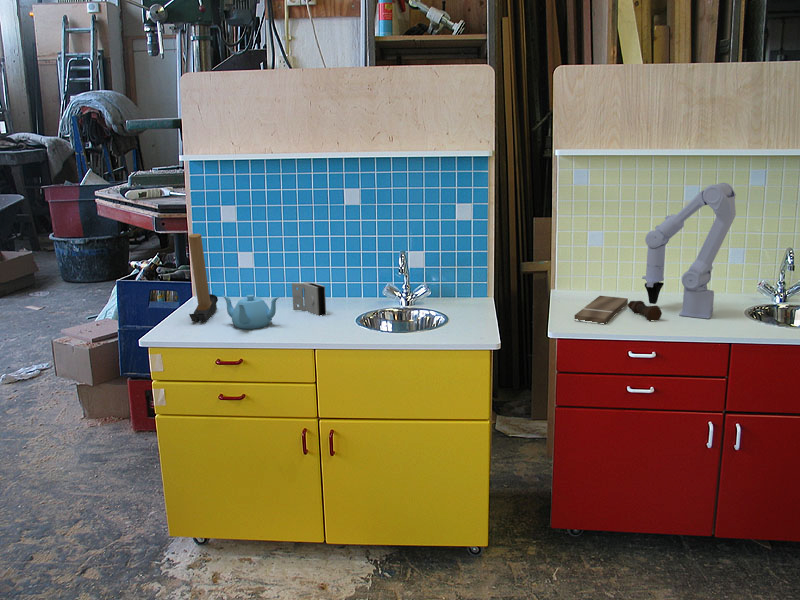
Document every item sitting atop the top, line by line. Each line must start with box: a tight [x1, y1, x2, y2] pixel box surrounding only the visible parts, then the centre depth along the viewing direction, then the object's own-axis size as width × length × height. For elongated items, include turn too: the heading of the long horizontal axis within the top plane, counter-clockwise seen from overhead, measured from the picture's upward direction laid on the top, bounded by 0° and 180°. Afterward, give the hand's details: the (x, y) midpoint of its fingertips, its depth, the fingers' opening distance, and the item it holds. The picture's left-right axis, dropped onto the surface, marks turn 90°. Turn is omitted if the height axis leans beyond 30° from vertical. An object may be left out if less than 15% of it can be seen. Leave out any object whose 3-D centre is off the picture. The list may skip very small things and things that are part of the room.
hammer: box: [188, 233, 219, 322], centre depth 256 cm, size 20×5×30 cm, turn 0°
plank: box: [574, 295, 629, 325], centre depth 257 cm, size 10×30×2 cm, turn 150°
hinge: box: [291, 281, 327, 316], centre depth 264 cm, size 14×5×10 cm, turn 51°
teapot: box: [221, 294, 280, 330], centre depth 248 cm, size 15×15×10 cm
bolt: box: [627, 300, 663, 322], centre depth 252 cm, size 6×5×15 cm
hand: (652, 303), depth 261 cm, fingers closed
